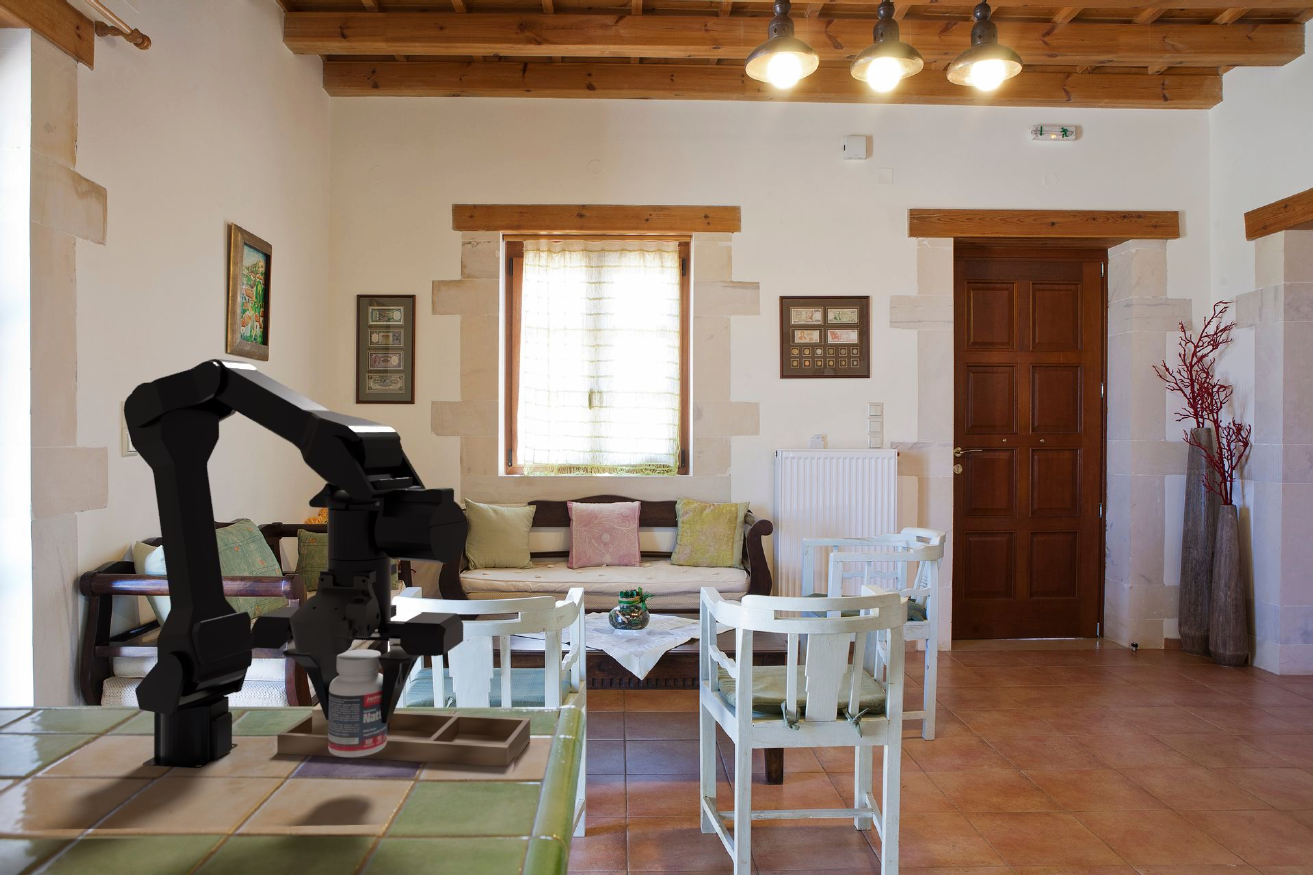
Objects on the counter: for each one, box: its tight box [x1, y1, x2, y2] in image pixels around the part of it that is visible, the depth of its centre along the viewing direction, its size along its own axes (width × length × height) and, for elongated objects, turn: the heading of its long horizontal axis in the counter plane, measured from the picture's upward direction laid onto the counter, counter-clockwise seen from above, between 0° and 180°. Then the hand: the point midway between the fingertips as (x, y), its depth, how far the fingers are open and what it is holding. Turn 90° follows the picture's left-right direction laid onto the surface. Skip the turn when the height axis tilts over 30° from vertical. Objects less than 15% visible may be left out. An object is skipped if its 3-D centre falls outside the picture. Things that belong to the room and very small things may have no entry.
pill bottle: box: [328, 648, 387, 758], centre depth 80 cm, size 5×5×9 cm
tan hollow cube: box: [311, 703, 329, 735], centre depth 92 cm, size 4×4×4 cm
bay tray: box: [276, 710, 531, 768], centre depth 91 cm, size 25×9×2 cm, turn 83°
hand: (358, 720), depth 80 cm, fingers closed on pill bottle, 5 cm apart
